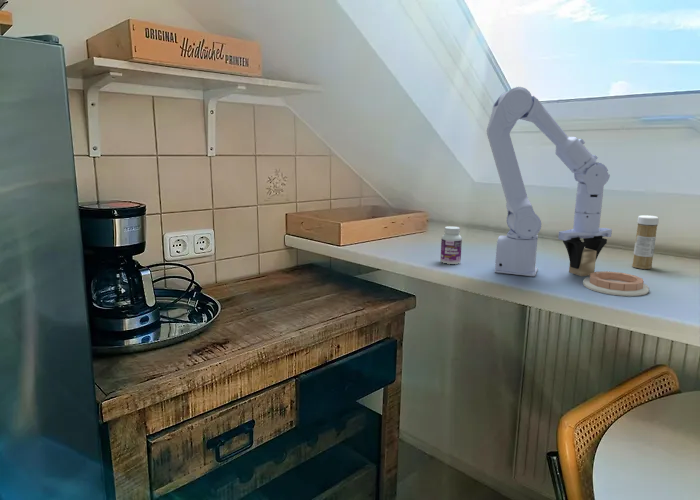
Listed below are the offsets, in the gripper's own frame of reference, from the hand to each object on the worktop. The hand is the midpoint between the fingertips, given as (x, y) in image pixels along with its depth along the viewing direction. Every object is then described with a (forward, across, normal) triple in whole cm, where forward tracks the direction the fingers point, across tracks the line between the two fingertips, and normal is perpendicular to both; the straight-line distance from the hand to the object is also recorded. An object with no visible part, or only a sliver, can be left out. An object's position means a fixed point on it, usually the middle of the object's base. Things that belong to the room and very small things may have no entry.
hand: (582, 267), depth 121 cm
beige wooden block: (+2, 0, 0) cm, 2 cm away
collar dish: (+2, -2, -12) cm, 12 cm away
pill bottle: (+2, -25, +20) cm, 32 cm away
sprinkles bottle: (+2, +19, -1) cm, 19 cm away
